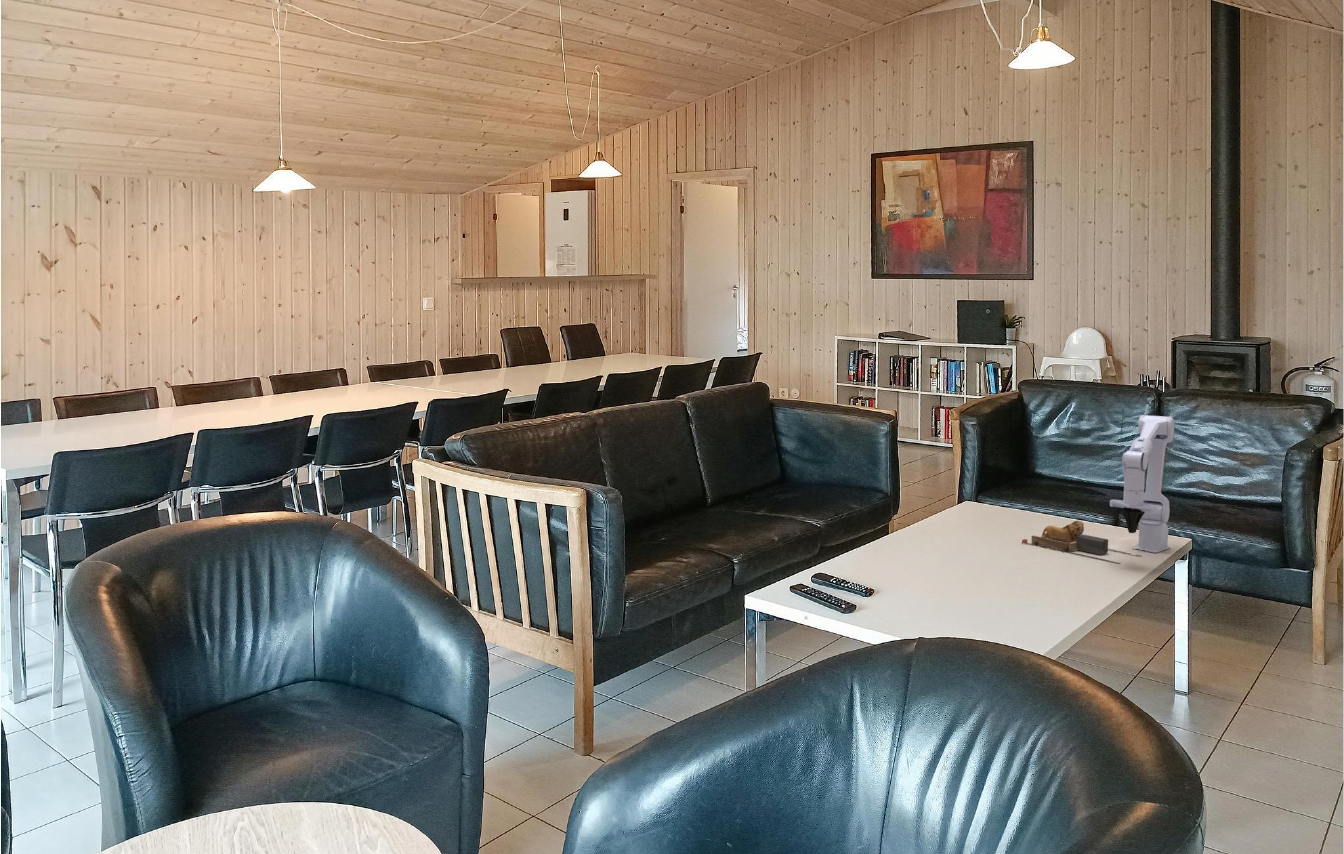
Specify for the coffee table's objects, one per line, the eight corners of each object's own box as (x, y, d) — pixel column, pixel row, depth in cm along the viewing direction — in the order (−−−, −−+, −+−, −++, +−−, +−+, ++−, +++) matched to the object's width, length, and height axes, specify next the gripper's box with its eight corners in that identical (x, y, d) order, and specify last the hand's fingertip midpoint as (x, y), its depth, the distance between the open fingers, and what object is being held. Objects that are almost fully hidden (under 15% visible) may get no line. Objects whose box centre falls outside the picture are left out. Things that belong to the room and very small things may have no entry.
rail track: (1046, 536, 367) (1046, 532, 367) (1142, 556, 339) (1142, 552, 339) (1021, 543, 359) (1022, 539, 359) (1118, 564, 331) (1118, 560, 331)
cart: (1053, 537, 364) (1053, 524, 364) (1115, 550, 346) (1116, 536, 346) (1030, 543, 357) (1030, 531, 356) (1092, 557, 338) (1093, 543, 338)
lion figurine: (1083, 545, 354) (1083, 519, 353) (1083, 549, 349) (1084, 522, 348) (1036, 542, 359) (1037, 516, 358) (1036, 546, 354) (1037, 520, 353)
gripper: (1104, 487, 330) (1103, 530, 332) (1149, 494, 318) (1147, 538, 320) (1117, 484, 334) (1115, 526, 336) (1161, 491, 322) (1159, 534, 324)
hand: (1132, 532), depth 328 cm, fingers closed
